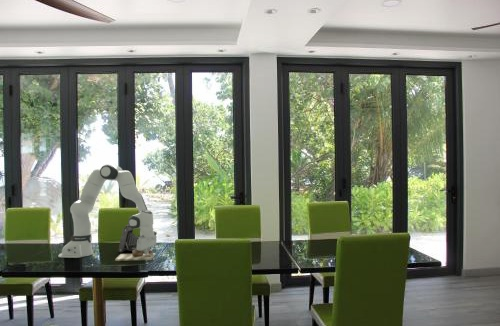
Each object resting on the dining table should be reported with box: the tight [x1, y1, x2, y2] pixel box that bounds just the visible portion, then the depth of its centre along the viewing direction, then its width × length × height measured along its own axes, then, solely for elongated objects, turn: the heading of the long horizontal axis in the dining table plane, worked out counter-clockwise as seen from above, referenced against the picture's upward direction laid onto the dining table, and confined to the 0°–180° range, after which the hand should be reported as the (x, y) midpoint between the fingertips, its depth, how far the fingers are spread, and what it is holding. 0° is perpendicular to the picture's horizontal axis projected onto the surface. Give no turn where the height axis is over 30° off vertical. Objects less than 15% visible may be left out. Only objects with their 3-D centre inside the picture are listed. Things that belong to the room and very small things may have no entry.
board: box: [114, 252, 156, 262], centre depth 260 cm, size 24×14×2 cm, turn 95°
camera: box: [118, 224, 144, 254], centre depth 279 cm, size 11×17×20 cm, turn 79°
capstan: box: [131, 249, 153, 256], centre depth 262 cm, size 13×7×4 cm, turn 105°
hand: (146, 254), depth 261 cm, fingers closed
